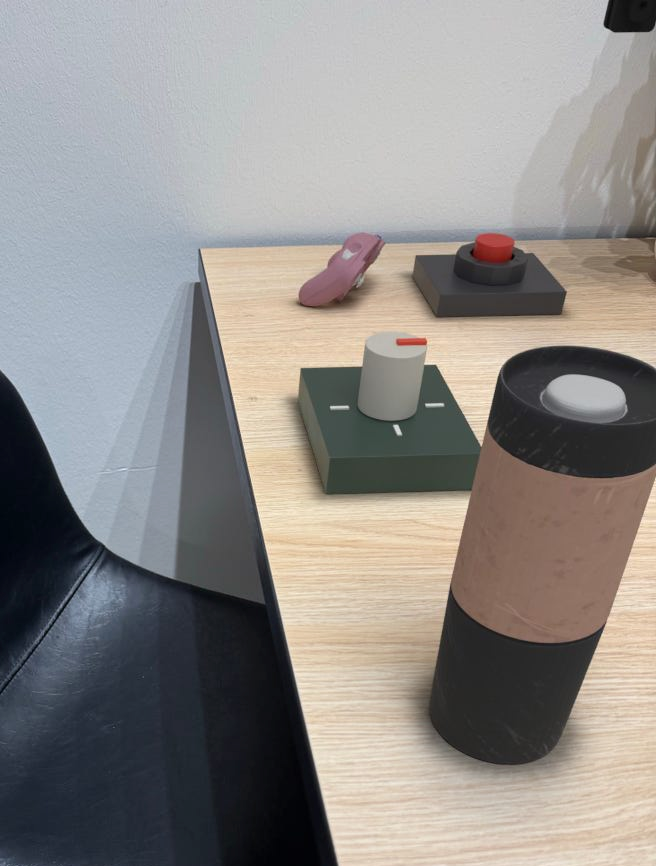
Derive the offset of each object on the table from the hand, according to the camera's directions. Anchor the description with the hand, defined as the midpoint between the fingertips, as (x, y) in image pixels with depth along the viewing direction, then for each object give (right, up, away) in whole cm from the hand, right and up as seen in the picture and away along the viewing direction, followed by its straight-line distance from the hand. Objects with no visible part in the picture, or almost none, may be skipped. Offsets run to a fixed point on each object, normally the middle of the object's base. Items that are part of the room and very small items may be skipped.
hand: (627, 29), depth 76 cm
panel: (-17, -29, +4) cm, 34 cm away
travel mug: (-16, -49, -19) cm, 55 cm away
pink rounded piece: (-17, -11, +26) cm, 33 cm away
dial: (-17, -27, +2) cm, 32 cm away
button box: (-3, -11, +26) cm, 28 cm away
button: (-3, -8, +24) cm, 25 cm away
